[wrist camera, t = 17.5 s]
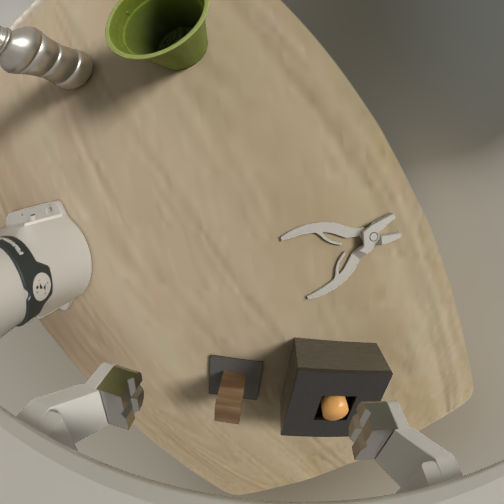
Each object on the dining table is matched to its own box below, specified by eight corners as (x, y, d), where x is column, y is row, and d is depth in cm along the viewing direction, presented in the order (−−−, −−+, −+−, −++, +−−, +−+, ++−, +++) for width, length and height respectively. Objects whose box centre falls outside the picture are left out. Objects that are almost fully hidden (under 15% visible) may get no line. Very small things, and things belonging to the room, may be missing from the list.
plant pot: (135, 86, 33) (92, 63, 22) (154, 18, 30) (122, -18, 19) (216, 88, 33) (195, 57, 22) (233, 16, 30) (219, -29, 19)
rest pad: (209, 391, 45) (208, 393, 44) (211, 354, 43) (210, 356, 42) (256, 398, 45) (256, 400, 44) (263, 361, 42) (262, 363, 42)
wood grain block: (223, 370, 43) (215, 404, 35) (246, 373, 43) (241, 408, 35) (222, 386, 44) (214, 420, 36) (244, 389, 44) (239, 424, 36)
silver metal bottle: (78, 52, 32) (-6, 15, 12) (105, 59, 32) (17, 14, 13) (60, 87, 33) (-31, 64, 14) (85, 96, 34) (-12, 69, 14)
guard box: (280, 400, 44) (280, 435, 37) (294, 337, 41) (298, 370, 33) (353, 403, 44) (362, 435, 36) (376, 343, 40) (392, 373, 33)
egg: (315, 393, 40) (319, 420, 35) (321, 375, 39) (326, 403, 34) (337, 394, 40) (344, 420, 34) (344, 377, 39) (351, 403, 33)
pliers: (279, 237, 36) (386, 190, 34) (279, 234, 38) (381, 189, 35) (309, 303, 38) (408, 258, 36) (308, 298, 40) (403, 255, 37)
